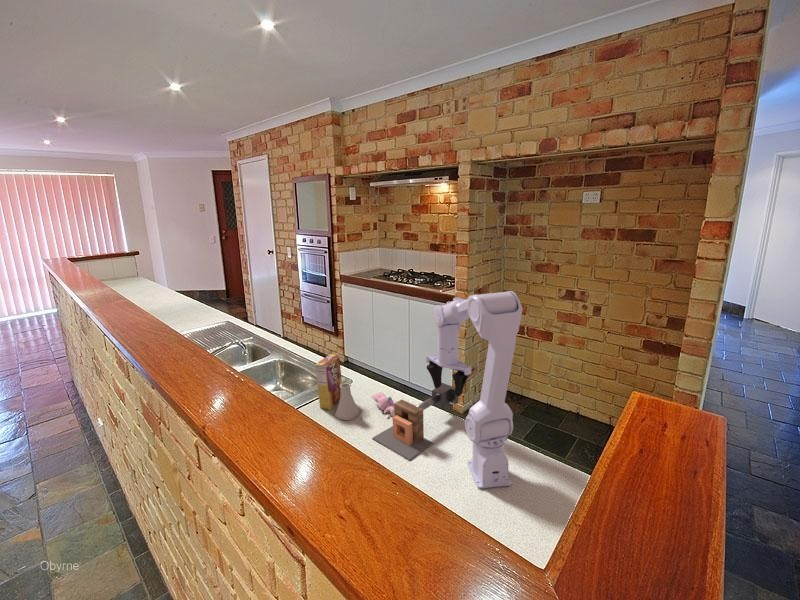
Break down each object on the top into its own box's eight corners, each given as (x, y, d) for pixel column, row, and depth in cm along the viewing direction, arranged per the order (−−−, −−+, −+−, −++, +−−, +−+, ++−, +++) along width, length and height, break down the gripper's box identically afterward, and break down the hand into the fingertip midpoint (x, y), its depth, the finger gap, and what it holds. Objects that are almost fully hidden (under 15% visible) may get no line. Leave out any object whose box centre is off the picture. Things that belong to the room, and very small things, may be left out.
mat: (409, 460, 98) (409, 459, 98) (372, 439, 108) (372, 437, 108) (433, 444, 105) (433, 442, 105) (396, 424, 115) (396, 423, 115)
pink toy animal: (409, 420, 120) (381, 395, 130) (410, 404, 117) (382, 380, 128) (392, 427, 116) (365, 401, 127) (394, 411, 114) (366, 385, 125)
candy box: (332, 395, 134) (329, 353, 130) (343, 397, 132) (340, 354, 129) (318, 408, 126) (314, 363, 122) (330, 410, 124) (326, 365, 120)
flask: (330, 417, 120) (328, 387, 117) (344, 406, 126) (342, 378, 124) (350, 423, 116) (348, 392, 114) (363, 411, 123) (361, 382, 120)
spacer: (409, 445, 104) (408, 425, 103) (393, 436, 108) (392, 417, 107) (412, 443, 105) (412, 423, 104) (397, 434, 109) (396, 415, 108)
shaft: (418, 427, 105) (417, 412, 104) (399, 418, 110) (399, 403, 109) (458, 402, 117) (458, 388, 116) (440, 395, 122) (439, 381, 121)
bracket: (416, 444, 105) (415, 413, 102) (395, 432, 110) (394, 403, 108) (423, 439, 107) (423, 409, 104) (402, 428, 112) (401, 399, 110)
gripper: (478, 348, 107) (477, 393, 110) (436, 337, 117) (437, 379, 120) (462, 355, 102) (462, 403, 105) (421, 343, 112) (422, 387, 115)
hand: (448, 391), depth 112 cm, fingers open, 7 cm apart
